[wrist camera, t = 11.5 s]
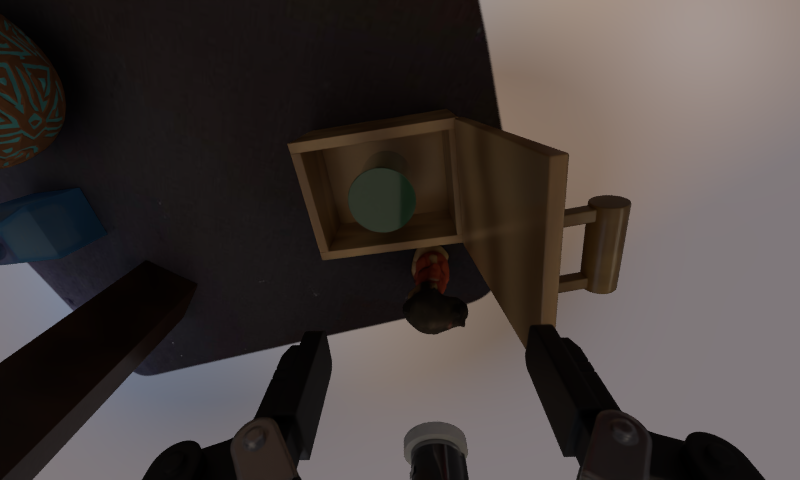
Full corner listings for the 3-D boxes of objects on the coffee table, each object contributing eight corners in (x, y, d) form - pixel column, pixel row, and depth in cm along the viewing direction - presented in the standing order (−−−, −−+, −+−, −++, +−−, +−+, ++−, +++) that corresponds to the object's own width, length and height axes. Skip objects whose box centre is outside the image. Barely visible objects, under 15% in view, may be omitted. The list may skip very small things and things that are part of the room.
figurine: (442, 234, 40) (455, 290, 30) (458, 268, 43) (476, 332, 32) (397, 252, 42) (394, 313, 31) (415, 285, 44) (417, 352, 33)
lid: (538, 372, 18) (631, 355, 18) (549, 156, 12) (681, 133, 12) (463, 244, 32) (515, 235, 32) (454, 118, 26) (516, 107, 26)
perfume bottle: (107, 234, 41) (2, 289, 30) (62, 239, 42) (-56, 295, 31) (79, 187, 38) (-47, 229, 28) (32, 193, 39) (-110, 238, 28)
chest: (337, 228, 40) (322, 260, 33) (311, 130, 35) (287, 144, 28) (455, 212, 39) (466, 242, 32) (447, 108, 34) (458, 116, 27)
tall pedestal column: (212, 282, 44) (4, 500, 21) (190, 328, 48) (-6, 556, 25) (137, 246, 42) (-186, 448, 19) (120, 298, 46) (-166, 518, 23)
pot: (424, 168, 36) (429, 192, 28) (395, 211, 38) (392, 244, 31) (377, 136, 34) (370, 153, 27) (349, 183, 37) (335, 210, 29)
